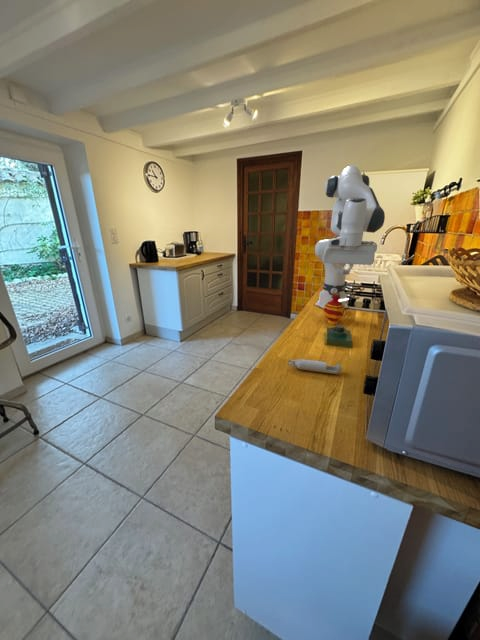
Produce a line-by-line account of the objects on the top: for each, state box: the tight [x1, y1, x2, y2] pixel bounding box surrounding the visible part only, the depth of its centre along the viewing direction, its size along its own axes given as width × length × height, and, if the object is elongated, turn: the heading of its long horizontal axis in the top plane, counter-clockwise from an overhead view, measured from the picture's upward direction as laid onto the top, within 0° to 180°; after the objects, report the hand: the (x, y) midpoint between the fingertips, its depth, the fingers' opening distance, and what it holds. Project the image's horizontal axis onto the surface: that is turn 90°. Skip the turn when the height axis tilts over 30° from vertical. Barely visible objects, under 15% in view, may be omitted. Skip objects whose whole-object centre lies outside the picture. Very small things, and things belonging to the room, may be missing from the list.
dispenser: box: [325, 326, 353, 348], centre depth 110 cm, size 12×10×5 cm
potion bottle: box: [322, 293, 345, 325], centre depth 127 cm, size 10×10×15 cm
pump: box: [334, 324, 345, 332], centre depth 109 cm, size 4×4×2 cm
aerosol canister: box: [287, 358, 342, 375], centre depth 88 cm, size 18×5×6 cm, turn 75°
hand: (345, 274), depth 110 cm, fingers closed
